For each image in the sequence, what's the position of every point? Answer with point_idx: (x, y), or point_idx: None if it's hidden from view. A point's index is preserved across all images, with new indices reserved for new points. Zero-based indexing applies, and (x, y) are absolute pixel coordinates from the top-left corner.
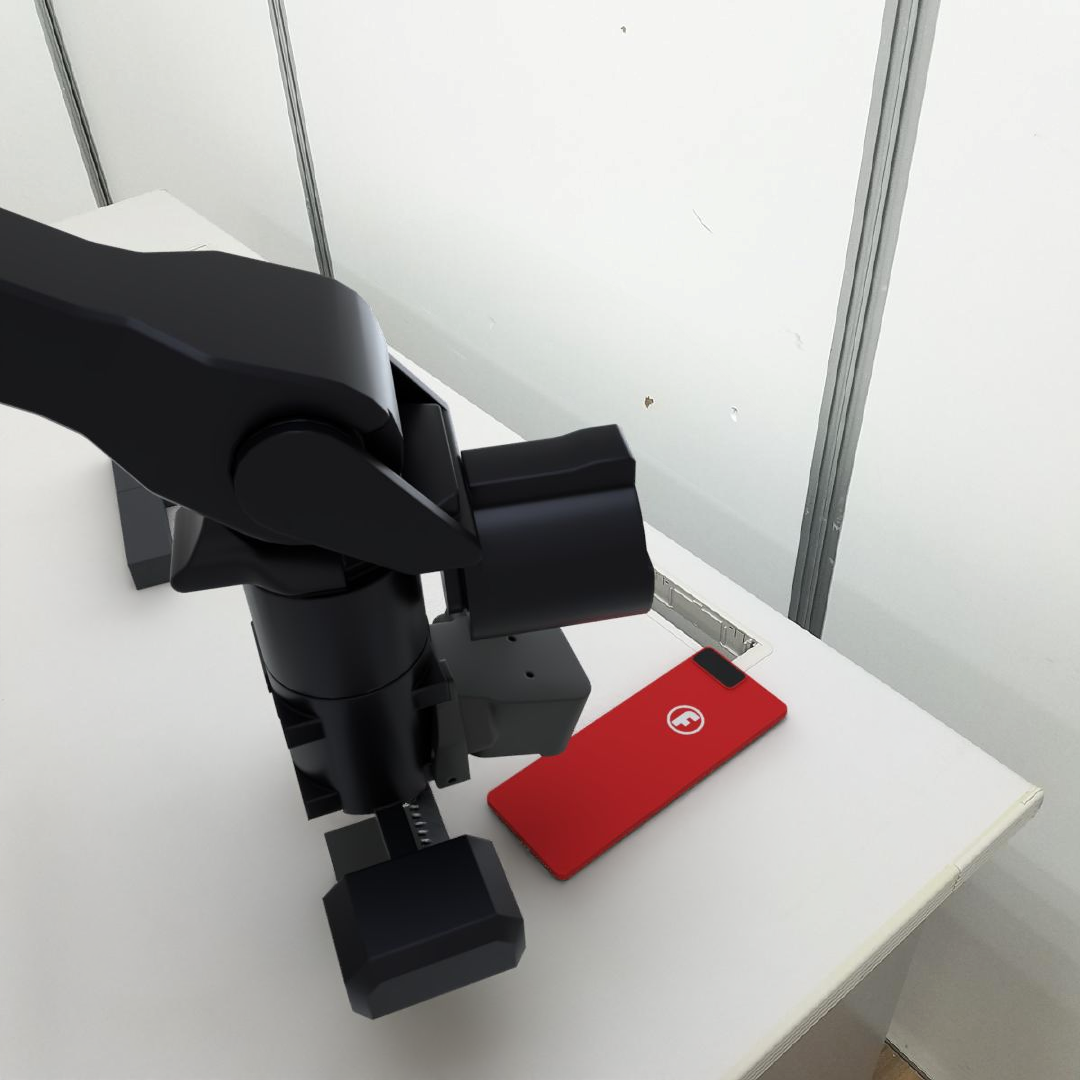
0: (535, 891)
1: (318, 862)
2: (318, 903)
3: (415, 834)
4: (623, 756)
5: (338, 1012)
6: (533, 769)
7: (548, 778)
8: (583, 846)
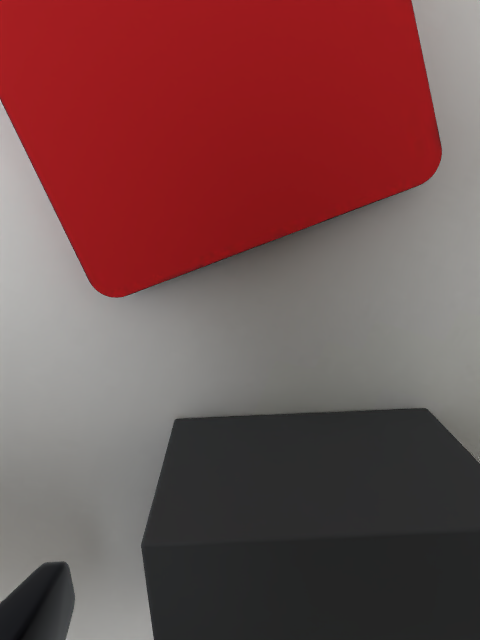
0: (406, 247)
1: None
2: None
3: (269, 615)
4: None
5: None
6: (37, 121)
7: (84, 82)
8: (376, 61)
